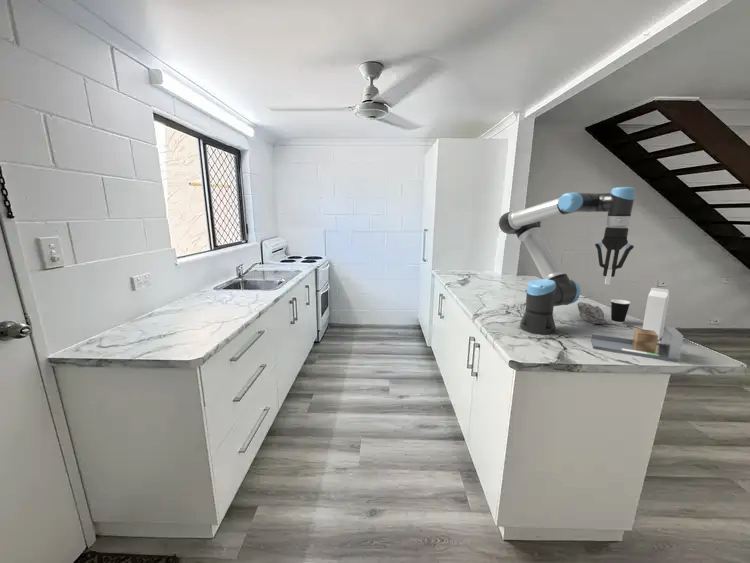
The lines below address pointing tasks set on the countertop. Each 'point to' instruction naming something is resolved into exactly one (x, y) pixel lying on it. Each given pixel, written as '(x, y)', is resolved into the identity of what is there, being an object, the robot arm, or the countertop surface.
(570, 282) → the robot arm
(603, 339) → the gauge track
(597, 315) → the rock
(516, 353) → the countertop surface
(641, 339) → the block
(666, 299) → the milk
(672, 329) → the grey metal block
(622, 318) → the dixie cup
